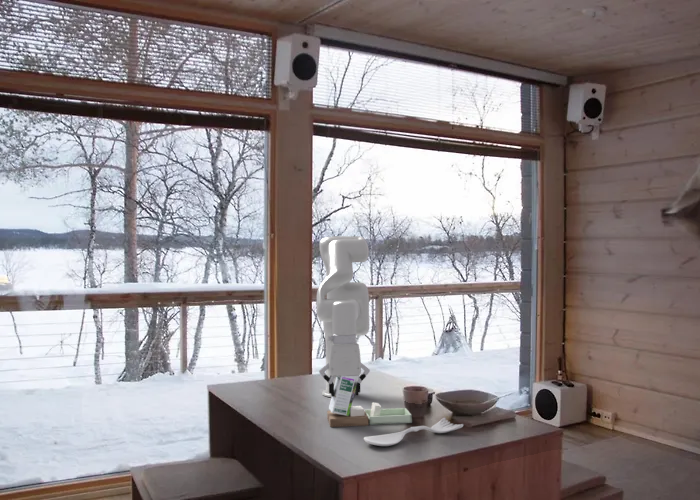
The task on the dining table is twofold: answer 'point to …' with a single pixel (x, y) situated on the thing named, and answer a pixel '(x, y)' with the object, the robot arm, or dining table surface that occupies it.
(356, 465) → the dining table surface
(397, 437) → the spoon
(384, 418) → the tray
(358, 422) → the board
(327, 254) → the robot arm
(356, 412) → the tile
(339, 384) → the syrup box
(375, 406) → the tile
